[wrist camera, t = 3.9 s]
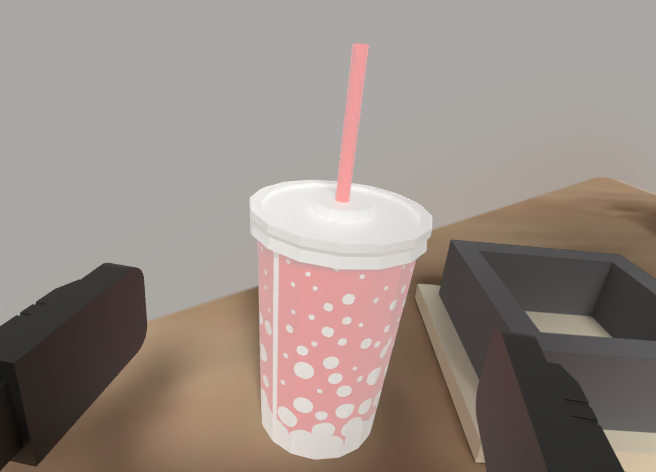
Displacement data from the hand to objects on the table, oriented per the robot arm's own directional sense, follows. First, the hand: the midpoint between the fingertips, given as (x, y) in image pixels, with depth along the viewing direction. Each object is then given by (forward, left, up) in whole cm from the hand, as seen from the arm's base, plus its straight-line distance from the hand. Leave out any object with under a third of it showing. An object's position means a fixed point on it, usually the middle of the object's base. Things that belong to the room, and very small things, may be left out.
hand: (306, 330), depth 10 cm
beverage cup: (-1, -6, -8) cm, 10 cm away
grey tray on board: (-13, -10, -8) cm, 18 cm away
